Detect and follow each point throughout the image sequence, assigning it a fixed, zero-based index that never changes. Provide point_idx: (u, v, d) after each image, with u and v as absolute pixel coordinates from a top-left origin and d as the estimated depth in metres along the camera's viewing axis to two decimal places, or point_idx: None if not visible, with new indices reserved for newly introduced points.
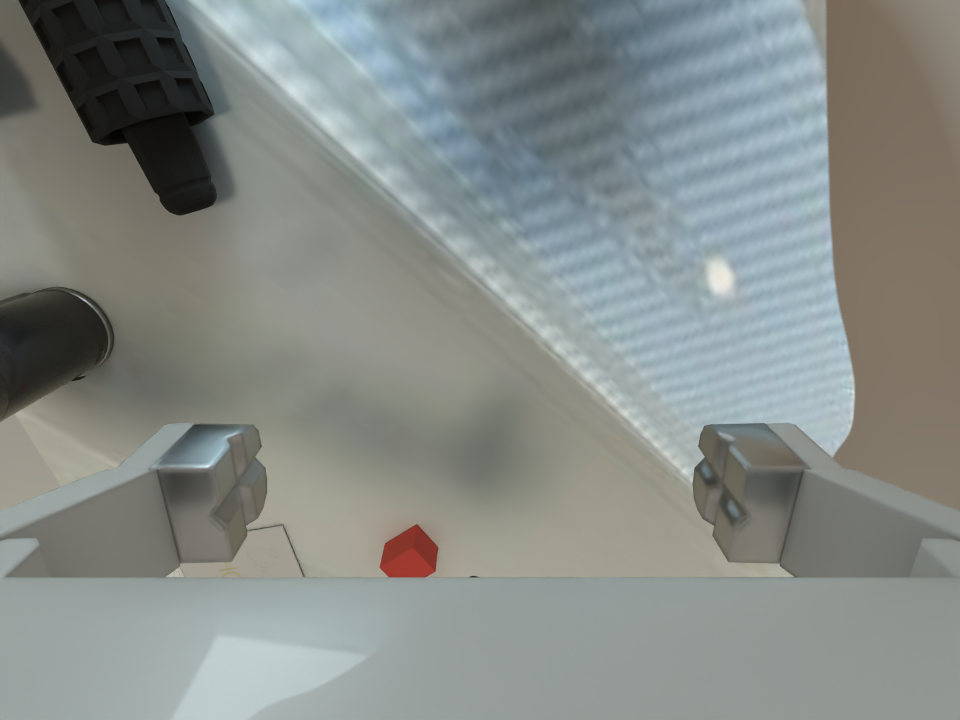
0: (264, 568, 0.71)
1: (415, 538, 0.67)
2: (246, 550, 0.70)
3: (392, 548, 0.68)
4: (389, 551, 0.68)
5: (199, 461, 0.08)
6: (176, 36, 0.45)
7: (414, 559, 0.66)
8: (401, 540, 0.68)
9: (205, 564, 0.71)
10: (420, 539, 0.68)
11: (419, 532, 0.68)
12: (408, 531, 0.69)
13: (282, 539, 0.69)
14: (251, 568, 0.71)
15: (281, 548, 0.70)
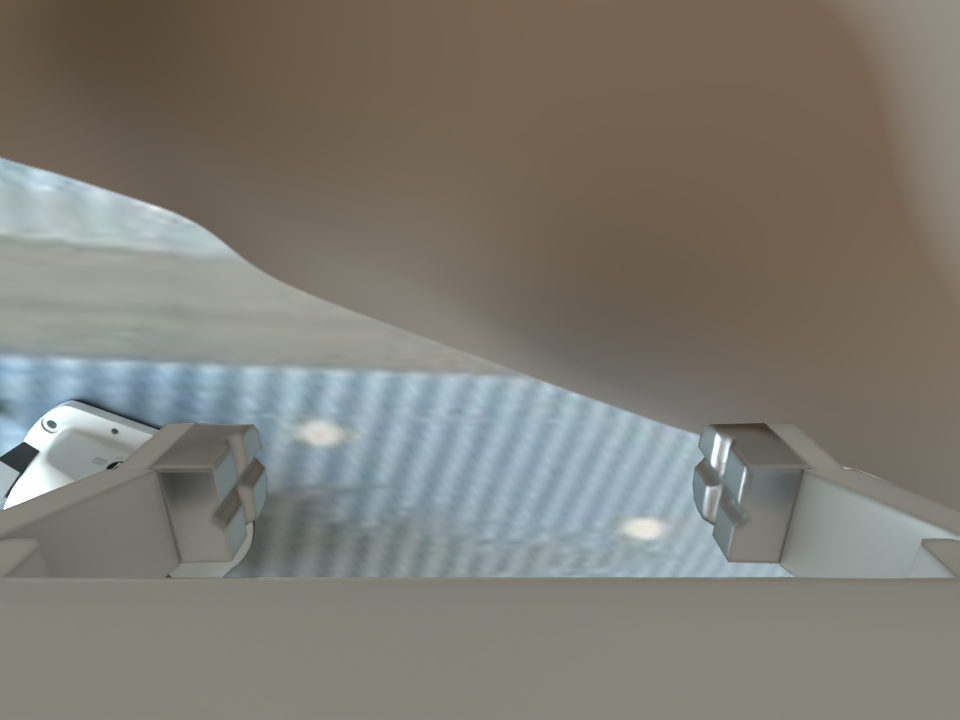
0: None
1: None
2: None
3: None
4: None
5: (199, 461, 0.08)
6: None
7: None
8: None
9: None
10: None
11: None
12: None
13: None
14: None
15: None
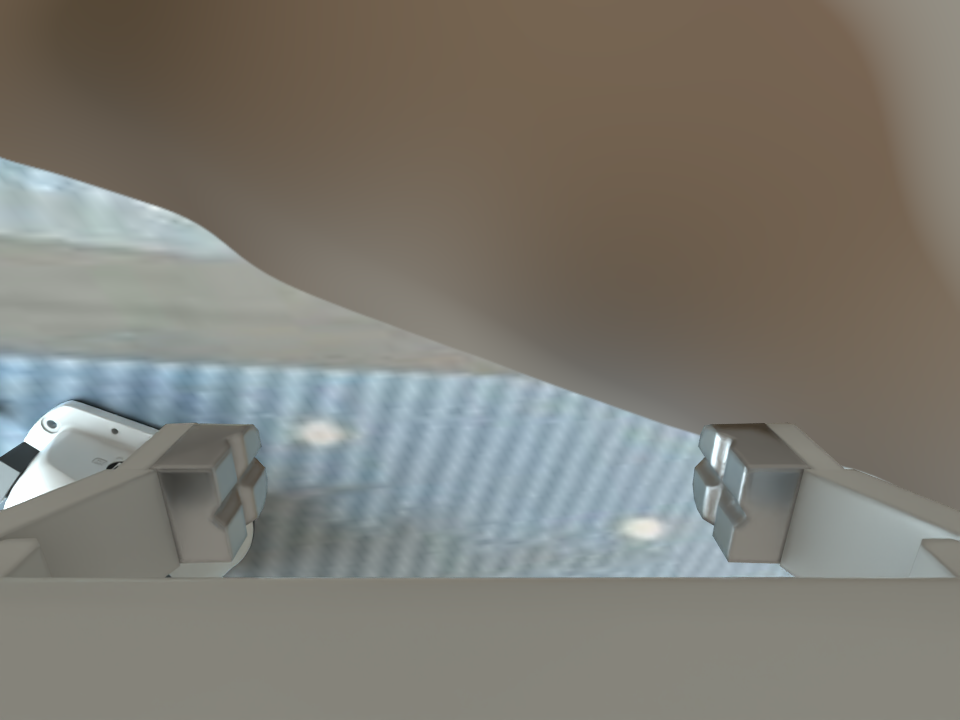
0: None
1: None
2: None
3: None
4: None
5: (199, 461, 0.08)
6: None
7: None
8: None
9: None
10: None
11: None
12: None
13: None
14: None
15: None
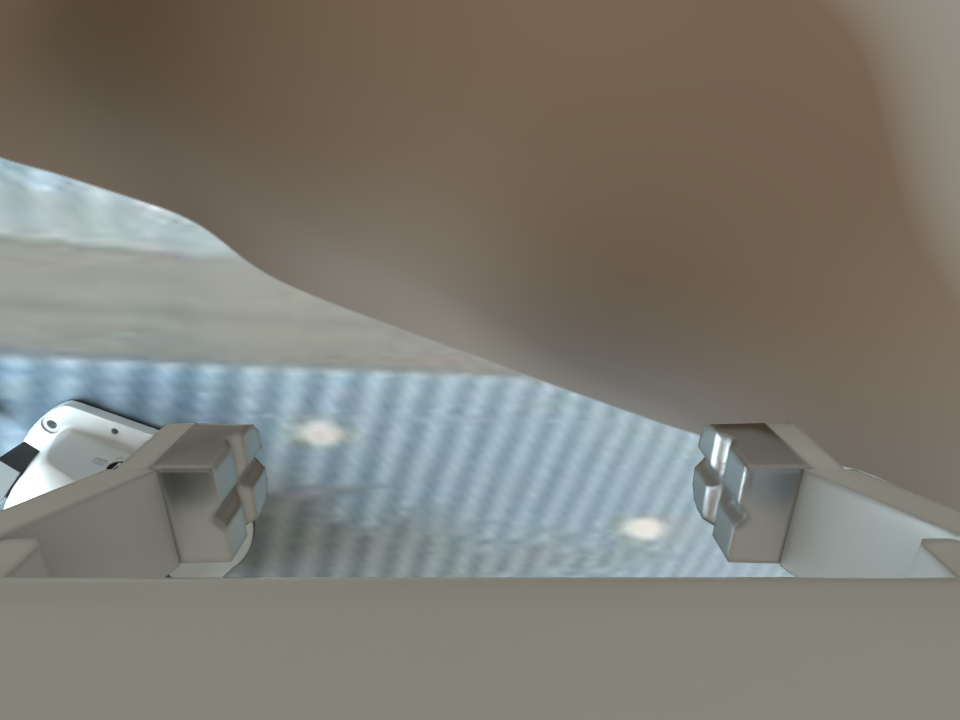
0: None
1: None
2: None
3: None
4: None
5: (199, 461, 0.08)
6: None
7: None
8: None
9: None
10: None
11: None
12: None
13: None
14: None
15: None
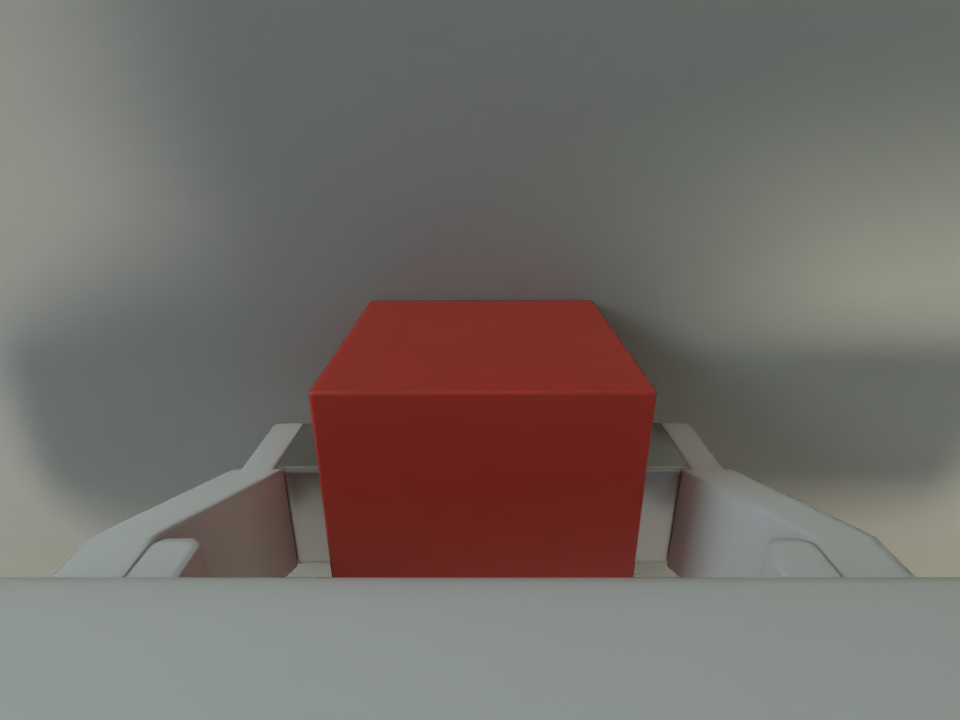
0: None
1: (343, 345, 0.08)
2: None
3: None
4: None
5: None
6: None
7: (428, 456, 0.07)
8: None
9: None
10: (411, 329, 0.09)
11: (397, 313, 0.10)
12: None
13: None
14: None
15: None
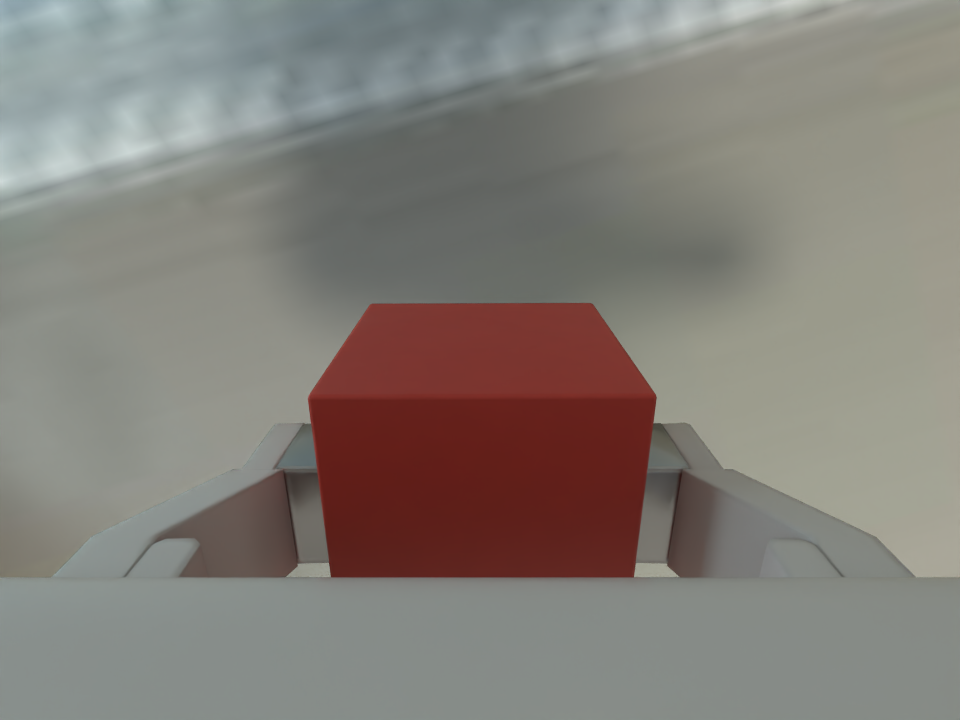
0: None
1: (343, 349, 0.08)
2: None
3: None
4: None
5: None
6: None
7: (427, 459, 0.07)
8: None
9: None
10: (411, 332, 0.09)
11: (397, 316, 0.10)
12: None
13: None
14: None
15: None
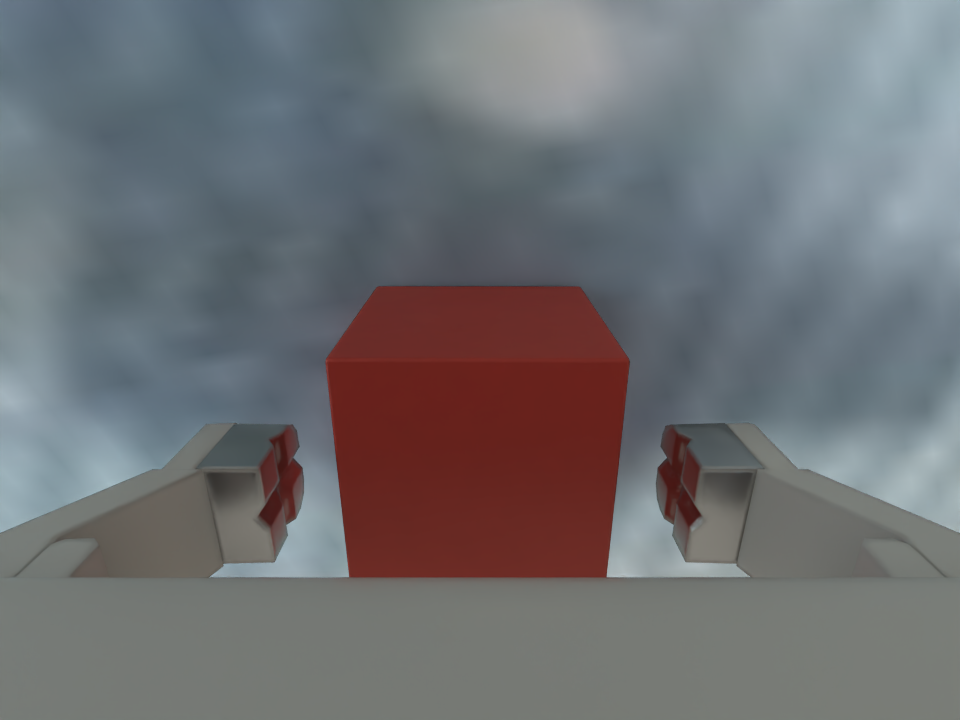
0: None
1: (353, 323, 0.09)
2: None
3: None
4: None
5: (244, 461, 0.08)
6: None
7: (429, 416, 0.08)
8: None
9: None
10: (414, 310, 0.10)
11: (402, 296, 0.11)
12: None
13: None
14: None
15: None
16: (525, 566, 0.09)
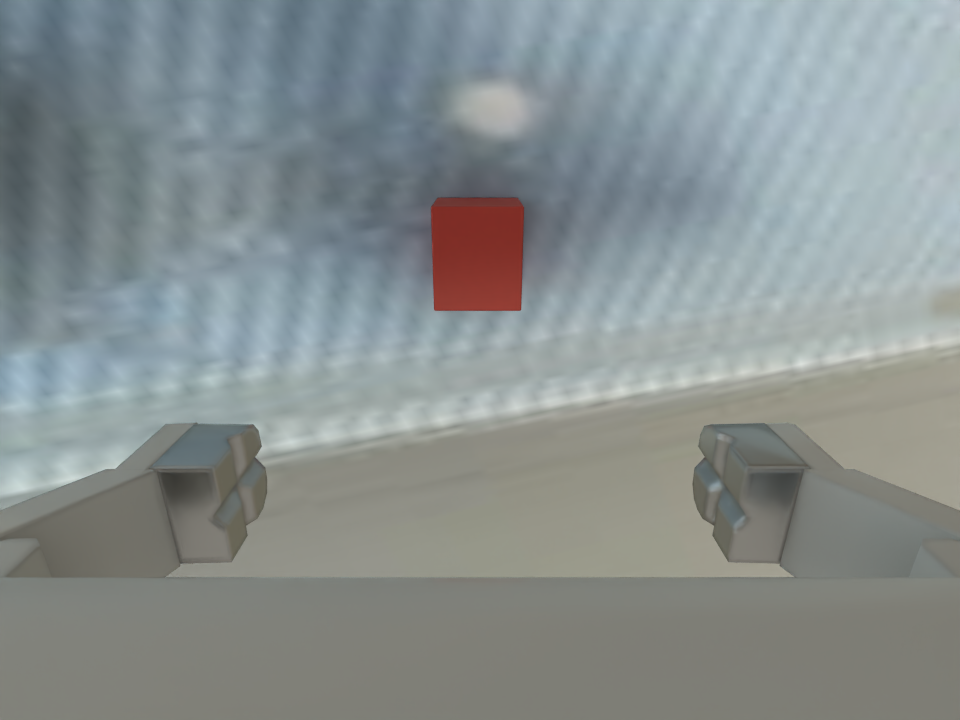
0: None
1: (435, 202, 0.28)
2: None
3: None
4: None
5: (199, 461, 0.08)
6: None
7: (462, 226, 0.26)
8: None
9: None
10: (454, 201, 0.28)
11: (448, 199, 0.29)
12: None
13: None
14: None
15: None
16: (493, 284, 0.27)
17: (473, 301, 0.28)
